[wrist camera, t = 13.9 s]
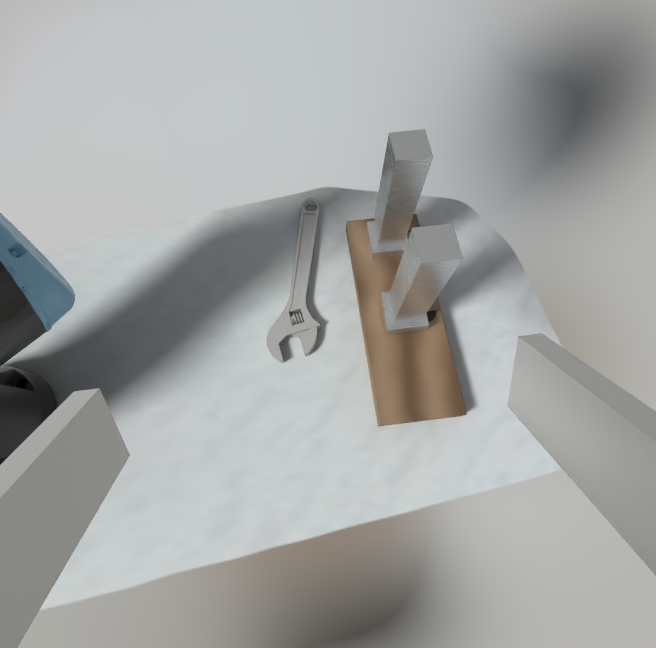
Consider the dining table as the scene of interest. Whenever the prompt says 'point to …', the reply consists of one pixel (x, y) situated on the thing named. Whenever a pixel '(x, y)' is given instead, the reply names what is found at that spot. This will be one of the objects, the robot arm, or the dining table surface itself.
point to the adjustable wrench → (298, 291)
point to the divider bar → (401, 346)
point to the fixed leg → (398, 192)
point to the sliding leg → (420, 278)
